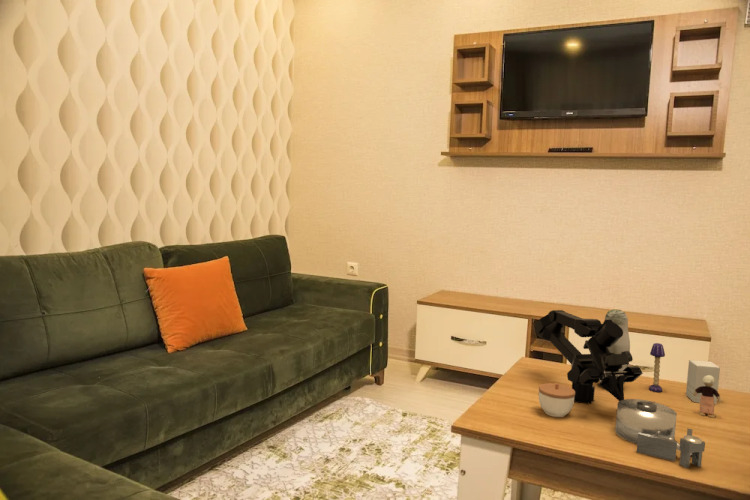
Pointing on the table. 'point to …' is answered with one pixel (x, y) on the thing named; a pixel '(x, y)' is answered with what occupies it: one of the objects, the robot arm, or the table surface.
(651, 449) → the centering jig
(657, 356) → the toy lamp
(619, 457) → the table surface
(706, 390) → the grandmother figurine
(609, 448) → the table surface
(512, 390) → the table surface
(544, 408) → the lidded jar
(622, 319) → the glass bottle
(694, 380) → the supplement box
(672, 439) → the dial plunger
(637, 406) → the cover
